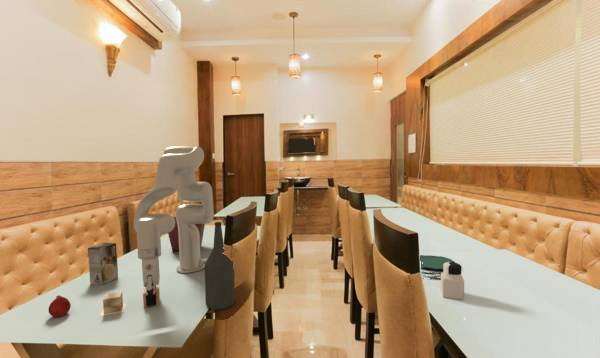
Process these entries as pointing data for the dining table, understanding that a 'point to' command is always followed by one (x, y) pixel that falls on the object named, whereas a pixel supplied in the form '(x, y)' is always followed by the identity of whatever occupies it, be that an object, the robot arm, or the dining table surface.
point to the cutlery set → (434, 263)
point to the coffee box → (102, 263)
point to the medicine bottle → (452, 281)
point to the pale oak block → (112, 302)
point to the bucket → (175, 236)
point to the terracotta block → (156, 296)
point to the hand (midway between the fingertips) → (151, 301)
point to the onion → (59, 306)
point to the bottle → (219, 275)
